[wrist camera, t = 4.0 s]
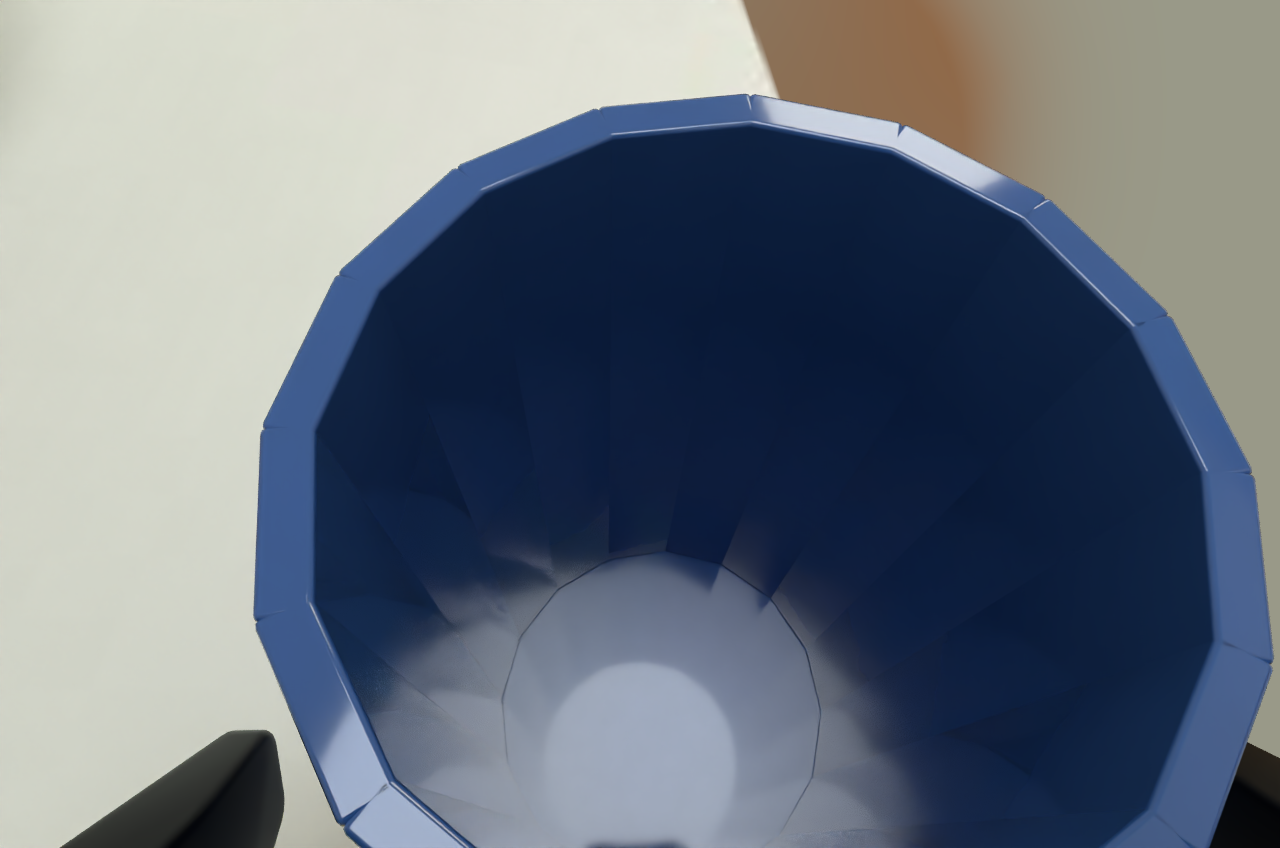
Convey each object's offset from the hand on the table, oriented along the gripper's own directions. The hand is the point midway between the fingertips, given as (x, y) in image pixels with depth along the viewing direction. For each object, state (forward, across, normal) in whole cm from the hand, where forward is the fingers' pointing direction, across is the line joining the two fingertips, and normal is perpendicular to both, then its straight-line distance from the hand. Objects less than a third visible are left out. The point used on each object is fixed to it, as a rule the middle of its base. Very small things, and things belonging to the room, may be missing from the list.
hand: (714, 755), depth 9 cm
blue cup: (+8, 0, +5) cm, 9 cm away
